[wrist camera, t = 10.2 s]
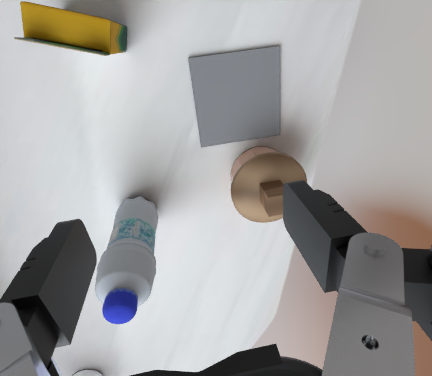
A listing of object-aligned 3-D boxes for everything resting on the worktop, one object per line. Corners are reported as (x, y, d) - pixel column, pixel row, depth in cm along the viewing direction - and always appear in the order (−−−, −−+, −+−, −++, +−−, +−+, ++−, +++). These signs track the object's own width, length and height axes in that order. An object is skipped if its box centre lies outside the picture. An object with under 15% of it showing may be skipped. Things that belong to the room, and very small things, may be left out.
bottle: (119, 188, 42) (82, 292, 25) (162, 194, 44) (157, 296, 27) (115, 224, 45) (80, 339, 28) (156, 228, 47) (148, 340, 29)
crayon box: (127, 25, 33) (108, 18, 23) (126, 52, 34) (107, 58, 24) (60, 10, 31) (7, -4, 21) (61, 40, 32) (12, 40, 22)
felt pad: (188, 58, 35) (188, 58, 35) (278, 45, 36) (280, 45, 36) (201, 146, 41) (201, 147, 41) (278, 134, 42) (279, 134, 42)
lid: (227, 158, 37) (235, 174, 33) (305, 146, 38) (323, 160, 34) (233, 224, 42) (241, 245, 38) (302, 212, 43) (317, 231, 39)
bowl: (228, 151, 42) (235, 164, 38) (285, 142, 43) (298, 154, 38) (233, 201, 46) (239, 217, 42) (284, 192, 47) (296, 207, 43)
